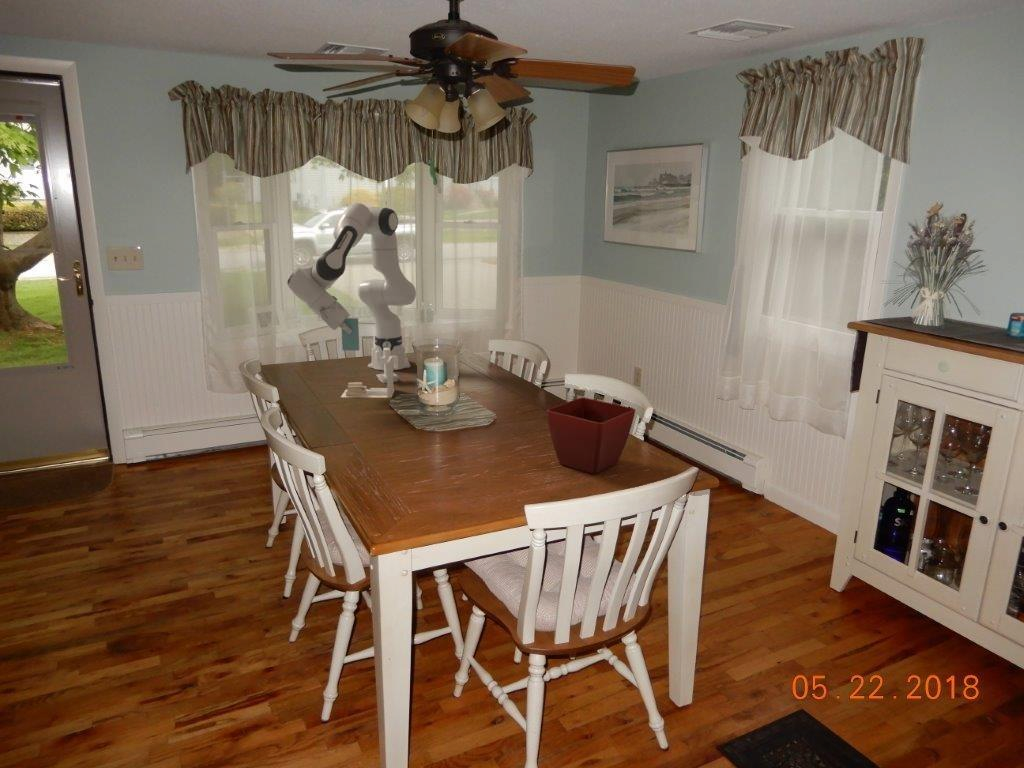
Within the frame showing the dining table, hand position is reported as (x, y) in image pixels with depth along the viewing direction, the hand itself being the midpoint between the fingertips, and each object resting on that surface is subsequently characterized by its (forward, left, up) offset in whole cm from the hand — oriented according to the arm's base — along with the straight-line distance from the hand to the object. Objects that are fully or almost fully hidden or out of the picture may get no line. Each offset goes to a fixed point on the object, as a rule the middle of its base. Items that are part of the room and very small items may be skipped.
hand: (351, 331), depth 268 cm
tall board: (0, -1, -7) cm, 7 cm away
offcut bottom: (+1, +1, -24) cm, 24 cm away
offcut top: (+1, +1, -22) cm, 22 cm away
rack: (+1, +5, -25) cm, 26 cm away
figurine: (-18, +10, -26) cm, 33 cm away
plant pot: (+70, +80, -26) cm, 110 cm away
